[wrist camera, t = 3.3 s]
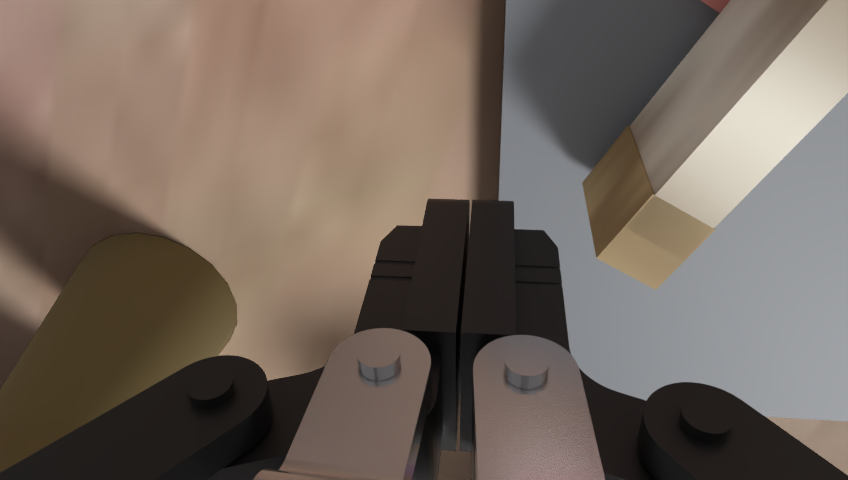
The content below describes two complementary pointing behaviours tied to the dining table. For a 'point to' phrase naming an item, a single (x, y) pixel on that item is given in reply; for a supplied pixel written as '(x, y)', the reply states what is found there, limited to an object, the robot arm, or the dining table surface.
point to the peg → (716, 131)
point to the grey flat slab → (715, 258)
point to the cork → (113, 338)
